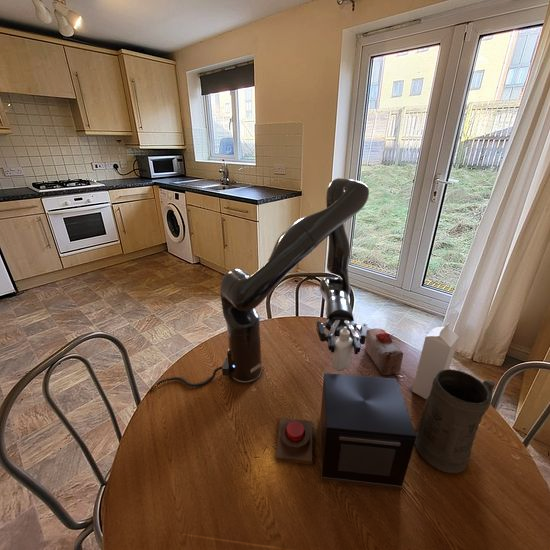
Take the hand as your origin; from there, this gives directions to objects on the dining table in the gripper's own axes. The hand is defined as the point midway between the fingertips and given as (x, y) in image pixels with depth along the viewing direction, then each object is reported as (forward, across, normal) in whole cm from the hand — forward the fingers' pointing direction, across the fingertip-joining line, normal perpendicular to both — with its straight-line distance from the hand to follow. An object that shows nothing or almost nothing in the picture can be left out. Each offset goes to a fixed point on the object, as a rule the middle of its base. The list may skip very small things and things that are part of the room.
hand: (344, 350), depth 71 cm
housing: (+13, -11, +18) cm, 24 cm away
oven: (+14, +3, +18) cm, 22 cm away
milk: (-6, +25, +18) cm, 31 cm away
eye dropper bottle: (-3, 0, +7) cm, 8 cm away
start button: (+13, -11, +15) cm, 23 cm away
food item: (-18, +15, +18) cm, 30 cm away
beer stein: (+10, +24, +18) cm, 31 cm away
